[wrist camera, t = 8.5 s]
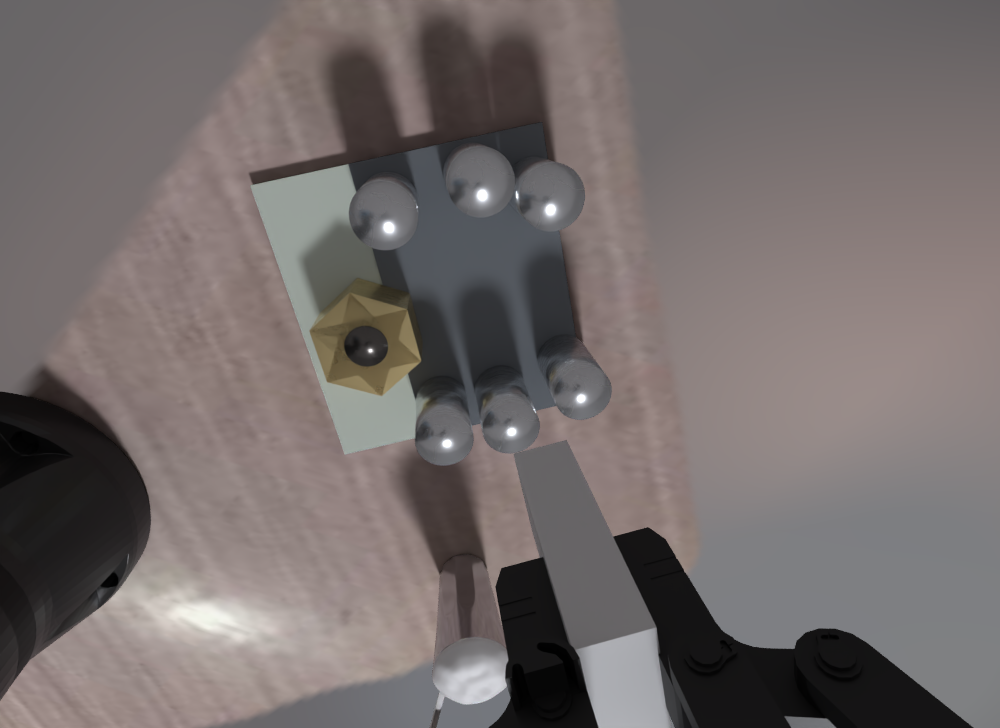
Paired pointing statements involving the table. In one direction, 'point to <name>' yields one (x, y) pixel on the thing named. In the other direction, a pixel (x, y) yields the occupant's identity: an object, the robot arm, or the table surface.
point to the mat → (424, 279)
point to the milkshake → (467, 636)
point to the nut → (368, 337)
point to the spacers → (499, 389)
